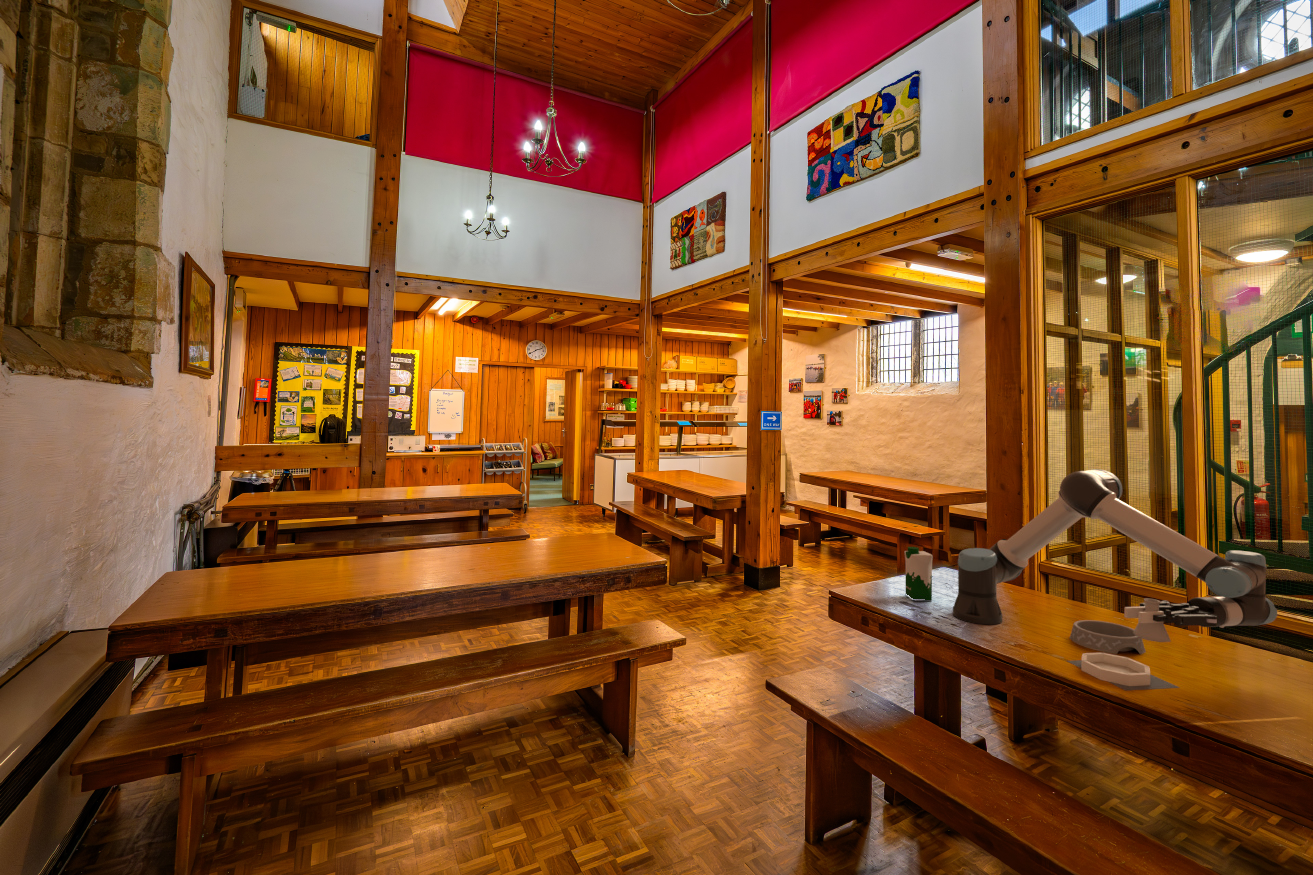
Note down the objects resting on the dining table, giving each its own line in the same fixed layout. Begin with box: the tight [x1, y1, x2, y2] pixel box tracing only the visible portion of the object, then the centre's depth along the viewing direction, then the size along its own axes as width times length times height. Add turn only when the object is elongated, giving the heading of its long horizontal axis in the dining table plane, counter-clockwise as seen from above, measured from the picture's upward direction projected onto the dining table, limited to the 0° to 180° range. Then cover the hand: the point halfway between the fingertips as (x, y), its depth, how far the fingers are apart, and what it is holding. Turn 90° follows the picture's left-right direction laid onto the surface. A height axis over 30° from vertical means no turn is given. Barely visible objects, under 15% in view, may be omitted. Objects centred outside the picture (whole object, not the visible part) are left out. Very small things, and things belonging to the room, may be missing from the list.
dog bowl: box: [1069, 619, 1147, 655], centre depth 170 cm, size 17×18×5 cm
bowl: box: [1080, 652, 1151, 686], centre depth 149 cm, size 14×14×3 cm
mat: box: [1066, 659, 1180, 692], centre depth 149 cm, size 18×15×1 cm
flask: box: [1133, 598, 1172, 643], centre depth 146 cm, size 7×7×10 cm
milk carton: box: [904, 546, 934, 601], centre depth 217 cm, size 9×9×20 cm
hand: (1132, 615), depth 145 cm, fingers closed on flask, 3 cm apart
